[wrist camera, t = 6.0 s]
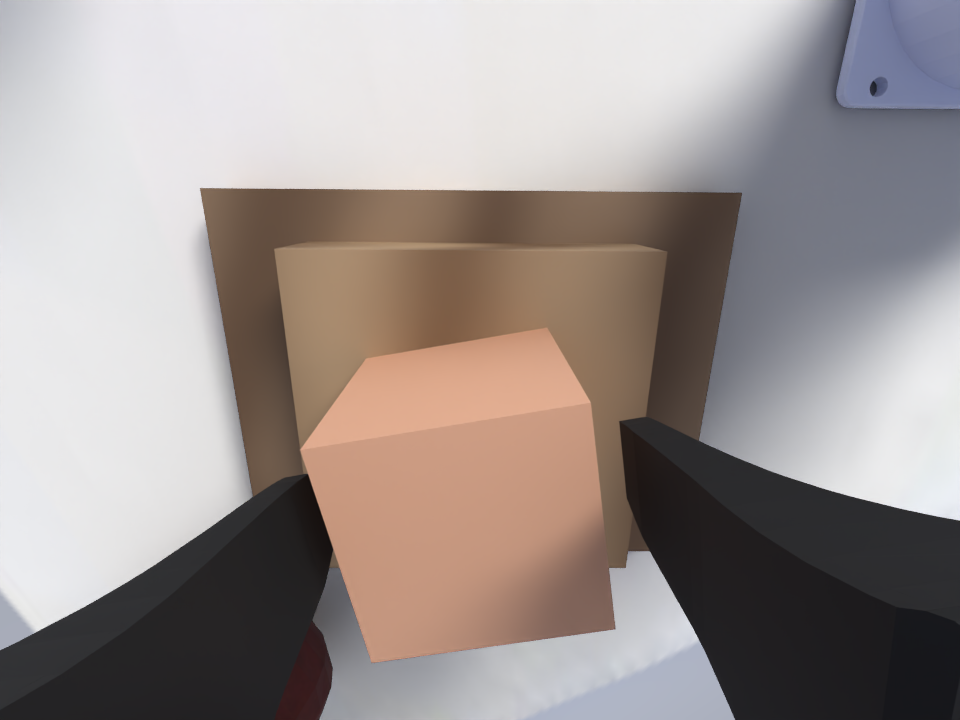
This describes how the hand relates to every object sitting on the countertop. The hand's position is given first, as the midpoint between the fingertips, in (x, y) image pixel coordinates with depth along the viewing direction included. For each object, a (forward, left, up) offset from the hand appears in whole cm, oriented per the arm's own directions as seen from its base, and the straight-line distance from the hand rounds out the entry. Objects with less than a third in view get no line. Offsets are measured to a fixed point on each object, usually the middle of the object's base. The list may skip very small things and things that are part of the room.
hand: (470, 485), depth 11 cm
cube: (0, 0, -3) cm, 3 cm away
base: (0, 0, -7) cm, 7 cm away
